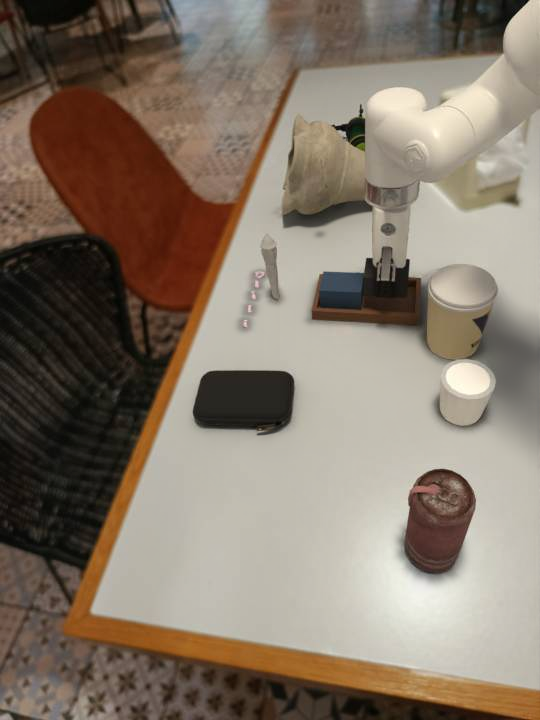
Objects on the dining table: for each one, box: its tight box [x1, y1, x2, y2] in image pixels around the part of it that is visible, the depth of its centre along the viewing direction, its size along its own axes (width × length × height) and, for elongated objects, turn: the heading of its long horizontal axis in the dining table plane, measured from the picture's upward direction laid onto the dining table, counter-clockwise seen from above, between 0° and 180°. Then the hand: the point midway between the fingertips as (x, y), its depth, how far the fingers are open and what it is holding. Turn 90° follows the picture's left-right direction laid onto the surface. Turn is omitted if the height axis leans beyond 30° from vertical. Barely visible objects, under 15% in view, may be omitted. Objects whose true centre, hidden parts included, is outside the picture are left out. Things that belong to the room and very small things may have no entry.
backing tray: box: [310, 273, 422, 326], centre depth 90 cm, size 18×10×2 cm, turn 78°
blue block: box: [319, 271, 364, 310], centre depth 90 cm, size 7×5×4 cm
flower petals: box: [243, 270, 266, 329], centre depth 95 cm, size 15×2×1 cm, turn 170°
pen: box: [259, 233, 280, 301], centre depth 89 cm, size 2×3×14 cm
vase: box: [281, 112, 366, 216], centre depth 104 cm, size 22×22×28 cm
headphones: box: [330, 103, 365, 152], centre depth 121 cm, size 16×10×20 cm
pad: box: [363, 257, 411, 298], centre depth 86 cm, size 7×5×4 cm
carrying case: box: [192, 369, 295, 432], centre depth 78 cm, size 11×3×15 cm
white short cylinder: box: [439, 358, 497, 427], centre depth 71 cm, size 7×7×7 cm
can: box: [404, 468, 477, 574], centre depth 57 cm, size 6×6×14 cm
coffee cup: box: [426, 263, 499, 361], centre depth 78 cm, size 9×9×12 cm
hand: (386, 284), depth 87 cm, fingers closed on pad, 5 cm apart
